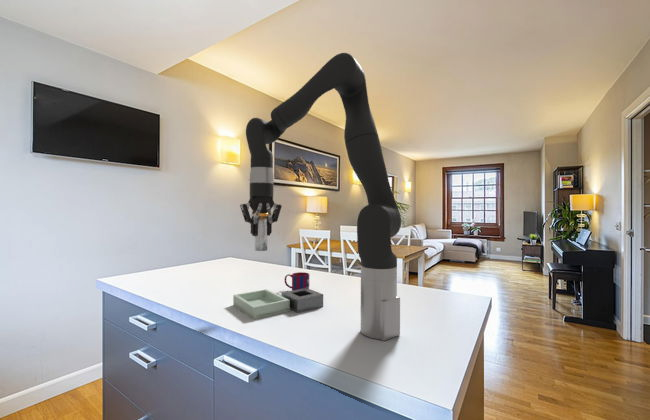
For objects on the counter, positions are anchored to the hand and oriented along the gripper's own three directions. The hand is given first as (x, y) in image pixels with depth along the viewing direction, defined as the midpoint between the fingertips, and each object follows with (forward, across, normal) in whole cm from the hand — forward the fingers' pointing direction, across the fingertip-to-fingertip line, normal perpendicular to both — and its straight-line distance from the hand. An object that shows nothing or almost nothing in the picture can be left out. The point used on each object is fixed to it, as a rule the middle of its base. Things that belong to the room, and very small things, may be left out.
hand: (261, 235), depth 97 cm
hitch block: (+23, +12, -6) cm, 27 cm away
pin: (+5, 0, 0) cm, 5 cm away
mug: (+24, +20, +10) cm, 32 cm away
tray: (+23, 0, 0) cm, 23 cm away
